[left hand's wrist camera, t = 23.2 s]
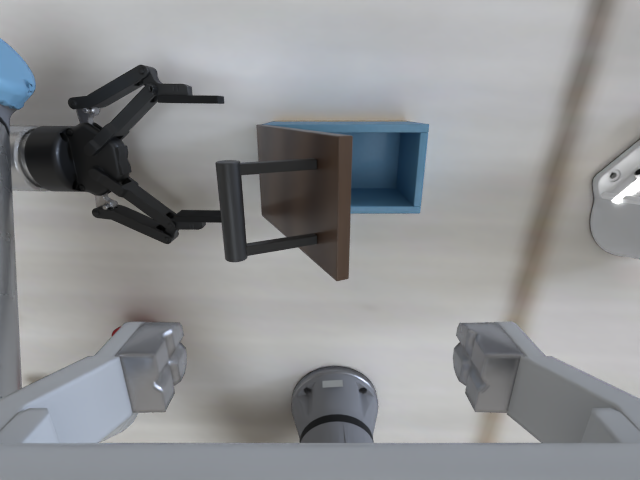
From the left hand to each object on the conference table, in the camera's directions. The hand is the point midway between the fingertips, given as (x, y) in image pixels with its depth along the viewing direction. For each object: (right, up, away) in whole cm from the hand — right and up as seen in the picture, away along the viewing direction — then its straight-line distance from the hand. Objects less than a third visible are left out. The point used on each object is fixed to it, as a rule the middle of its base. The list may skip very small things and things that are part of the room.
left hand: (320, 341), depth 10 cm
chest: (+3, +14, +39) cm, 41 cm away
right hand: (-11, +12, +32) cm, 36 cm away
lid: (-2, +8, +21) cm, 22 cm away
